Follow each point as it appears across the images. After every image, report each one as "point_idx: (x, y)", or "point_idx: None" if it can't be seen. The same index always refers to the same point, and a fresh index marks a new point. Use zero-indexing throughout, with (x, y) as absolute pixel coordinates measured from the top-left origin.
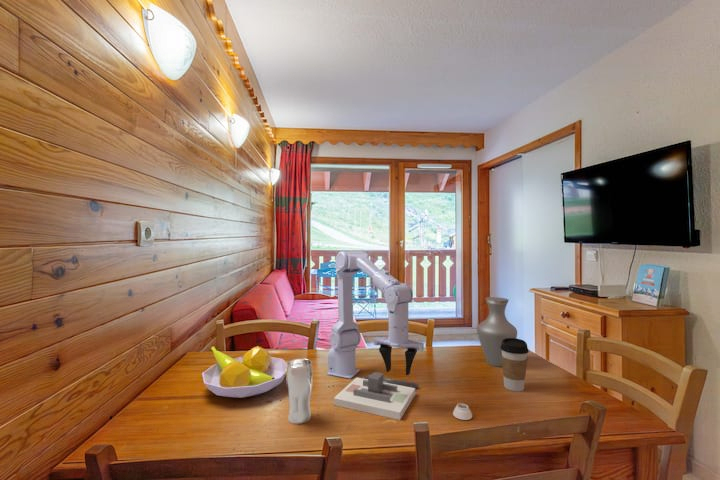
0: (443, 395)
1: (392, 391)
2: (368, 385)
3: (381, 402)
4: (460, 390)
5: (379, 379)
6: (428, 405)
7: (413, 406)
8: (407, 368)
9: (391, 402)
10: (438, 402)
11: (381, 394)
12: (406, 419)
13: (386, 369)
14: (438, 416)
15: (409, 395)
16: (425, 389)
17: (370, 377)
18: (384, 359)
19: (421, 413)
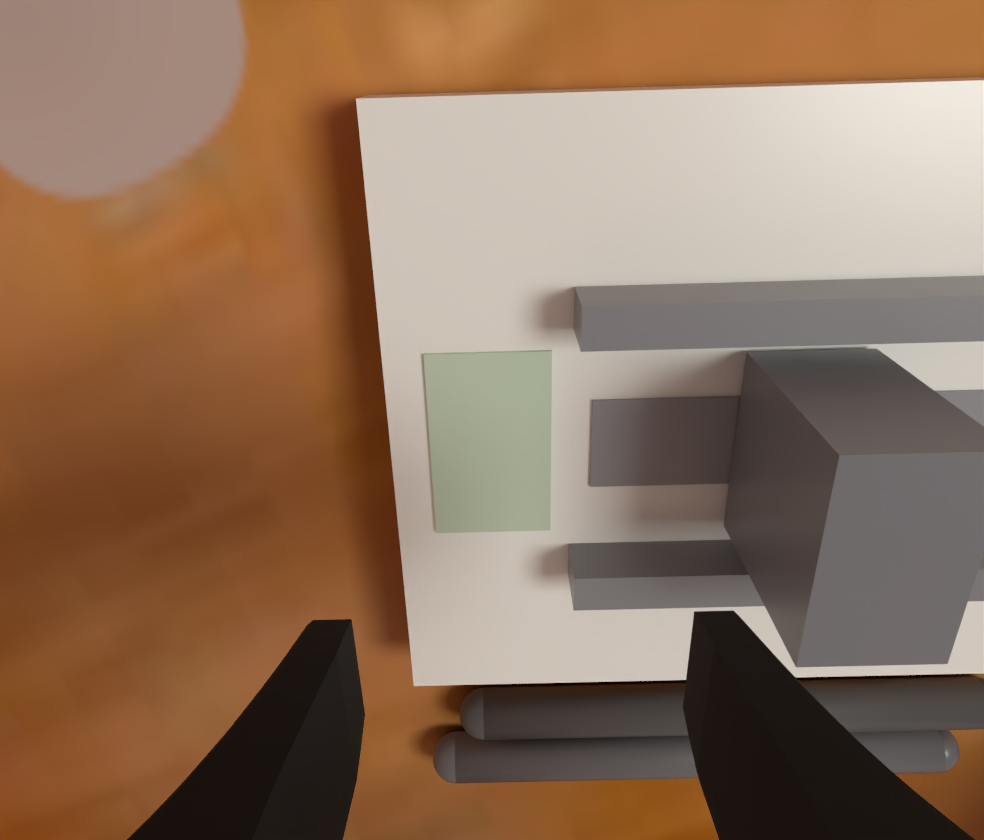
0: (190, 712)
1: (615, 543)
2: (937, 399)
3: (661, 249)
4: (106, 824)
5: (811, 514)
6: (230, 510)
7: (351, 436)
8: (273, 708)
9: (544, 302)
10: (173, 593)
11: (699, 340)
12: (311, 147)
13: (750, 632)
14: (52, 357)
15: (411, 534)
16: (371, 746)
17: (976, 481)
18: (896, 802)
19: (223, 341)
